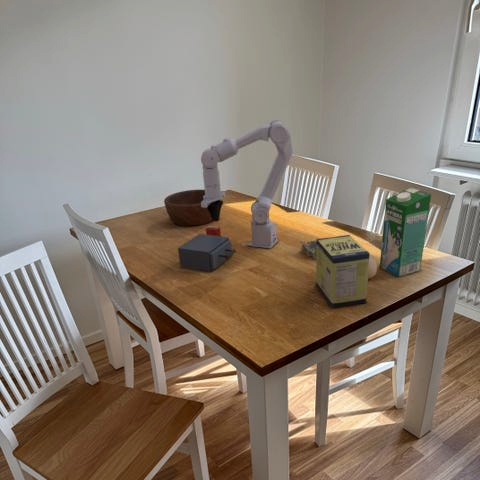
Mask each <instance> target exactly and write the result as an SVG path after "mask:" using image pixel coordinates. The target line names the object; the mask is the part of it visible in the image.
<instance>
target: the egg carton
mask: <svg viewBox="0 0 480 480" xmlns="http://www.w3.org/2000/svg"><path fill="white" fill-rule="evenodd" d="M299 243H300V244H302V245H301V253H302V254H306V256H308V257H312V259H313V260H316V250H317V239H315V240H311V241H307V243H305V241H301V240H300V241H299Z"/></svg>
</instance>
